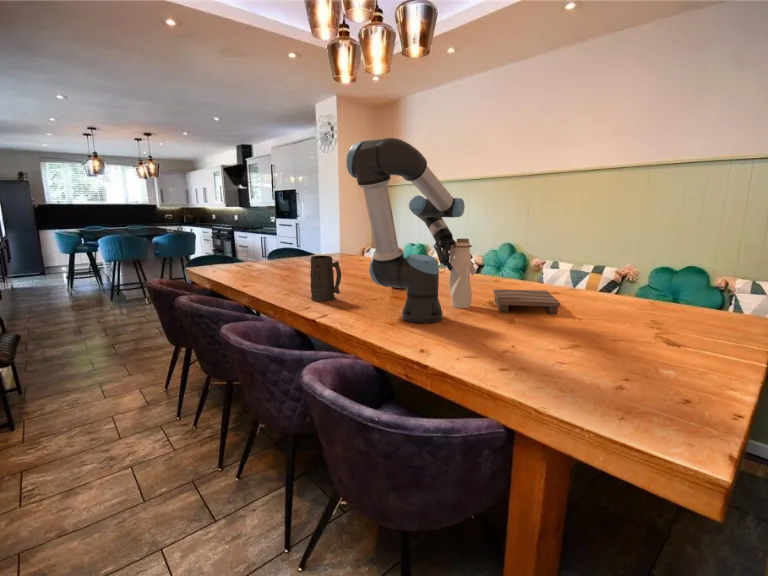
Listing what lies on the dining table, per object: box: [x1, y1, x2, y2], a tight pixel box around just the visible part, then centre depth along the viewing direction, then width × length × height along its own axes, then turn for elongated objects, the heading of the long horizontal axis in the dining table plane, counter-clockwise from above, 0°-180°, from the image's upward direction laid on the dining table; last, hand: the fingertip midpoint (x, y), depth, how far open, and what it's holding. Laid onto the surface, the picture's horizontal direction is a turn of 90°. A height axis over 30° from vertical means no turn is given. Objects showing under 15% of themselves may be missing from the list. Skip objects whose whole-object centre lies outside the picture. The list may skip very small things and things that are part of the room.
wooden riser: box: [493, 288, 561, 316], centre depth 159 cm, size 22×22×5 cm
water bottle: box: [448, 238, 473, 309], centre depth 160 cm, size 10×9×28 cm
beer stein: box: [309, 255, 342, 302], centre depth 175 cm, size 15×11×20 cm
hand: (465, 274), depth 157 cm, fingers open, 9 cm apart
